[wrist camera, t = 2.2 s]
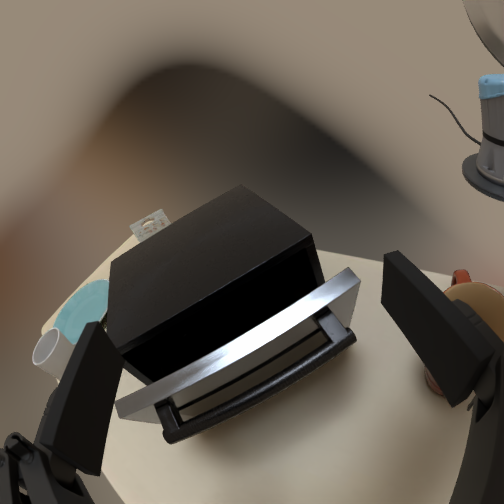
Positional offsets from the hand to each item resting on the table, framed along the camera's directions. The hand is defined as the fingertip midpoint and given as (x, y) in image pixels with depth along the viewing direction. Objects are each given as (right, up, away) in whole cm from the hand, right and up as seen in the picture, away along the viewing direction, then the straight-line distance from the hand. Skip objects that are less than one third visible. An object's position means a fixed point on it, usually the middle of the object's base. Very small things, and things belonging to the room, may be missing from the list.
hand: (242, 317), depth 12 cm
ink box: (-19, +2, +54) cm, 58 cm away
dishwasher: (-1, -9, +28) cm, 30 cm away
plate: (-40, -14, +46) cm, 63 cm away
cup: (-29, -22, +29) cm, 47 cm away
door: (+3, -14, +19) cm, 24 cm away
